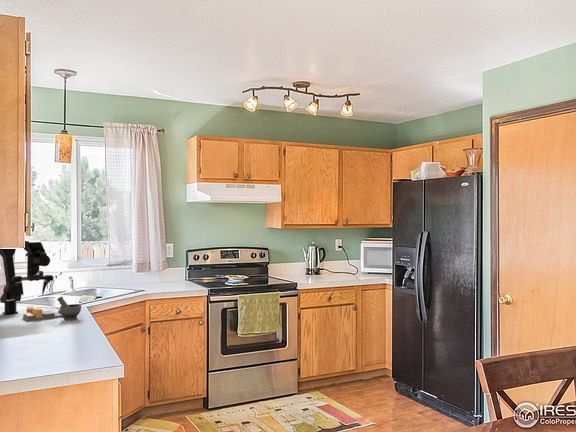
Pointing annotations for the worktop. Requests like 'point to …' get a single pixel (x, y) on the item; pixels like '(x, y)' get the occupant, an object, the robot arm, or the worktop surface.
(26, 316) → the slot rack
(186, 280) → the worktop surface
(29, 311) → the brick plug
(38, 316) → the ochre plug
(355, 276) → the worktop surface
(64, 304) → the mortar and pestle
